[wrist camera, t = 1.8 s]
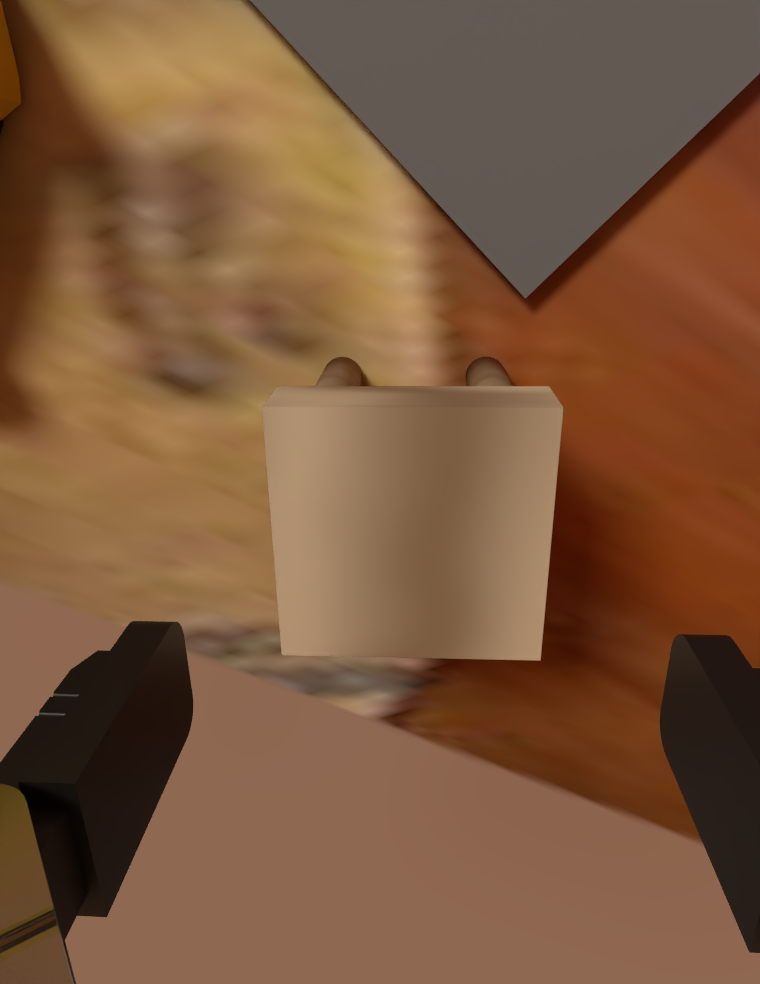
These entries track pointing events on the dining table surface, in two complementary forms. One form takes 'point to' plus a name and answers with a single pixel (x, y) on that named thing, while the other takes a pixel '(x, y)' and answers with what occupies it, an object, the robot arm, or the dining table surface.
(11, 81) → the gaming controller
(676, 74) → the mat
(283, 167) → the dining table surface
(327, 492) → the stool
